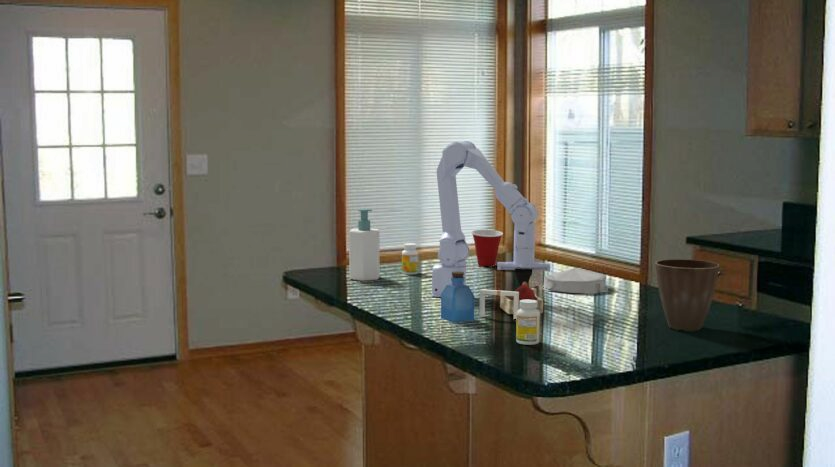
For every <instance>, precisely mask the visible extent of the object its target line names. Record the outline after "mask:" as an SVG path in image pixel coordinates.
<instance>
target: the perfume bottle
mask: <svg viewBox="0 0 835 467" xmlns="http://www.w3.org/2000/svg"><path fill="white" fill-rule="evenodd" d="M463 275H464V272H452V277H451V281H452V284H451V285H447V286H446V287H445V289H444V290H443V292H442V293H441V297H440V319H442V320H445V321H447V322H450V323H462V322H469V321H475V295H474V293H473V292H472V289H471V288H470V286H469V285H467V284H466V285H463V282H464V281H465V277H463Z"/></svg>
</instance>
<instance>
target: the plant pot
mask: <svg viewBox="0 0 835 467" xmlns="http://www.w3.org/2000/svg"><path fill="white" fill-rule="evenodd" d="M654 263H655V272H656V273H655V274H656V280H657V286H658V292H659V297H660V300H661V301H660V302H661V305H662V310H663V312H664V316H665V319H666V321H667V324H668V328H670V327H671V328H674V329H680V330H689V331H688V332H692V331H691V330H698V329H700V330H701V329H702V327H703V325H704V322H705V321H706V319H707V315H708V313H709V310H710V307H711V304H712V302H713V301H712V300H713V298H714V294H715V290H716V286H717V282H718V276H719V272H720V271H719V270H720V264H719V263H717V262H712V261H708V260H707V261H706V260H699V259H682V258H680V259H679V258H677V259H675V258H674V259H671V258H670V259H661V260H657V261H655V262H654ZM671 328H670V329H671ZM698 331H699V330H698Z"/></svg>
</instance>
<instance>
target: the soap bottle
mask: <svg viewBox="0 0 835 467" xmlns="http://www.w3.org/2000/svg"><path fill="white" fill-rule="evenodd" d="M357 210H358V212H360V219H358V220H357V221H358V222H357V223H358V224H357V226H358V227H357V228H350V230H349V231H348V252H349V253H348V257H349V259H348V261H349V262H348V263H349V265H348V266H349V268H348V270H349V272H348V273H349V274H348V276H349V280H351V279H353V280H354V281H361V282H366V281H377V280H379V278H380V273H381V272H380V271H381V270H380V268H381V267H380V263H381V262H380V261H381V260H380V229H379V228H371V219H369V212H373V209H371V208H359V209H357Z"/></svg>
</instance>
